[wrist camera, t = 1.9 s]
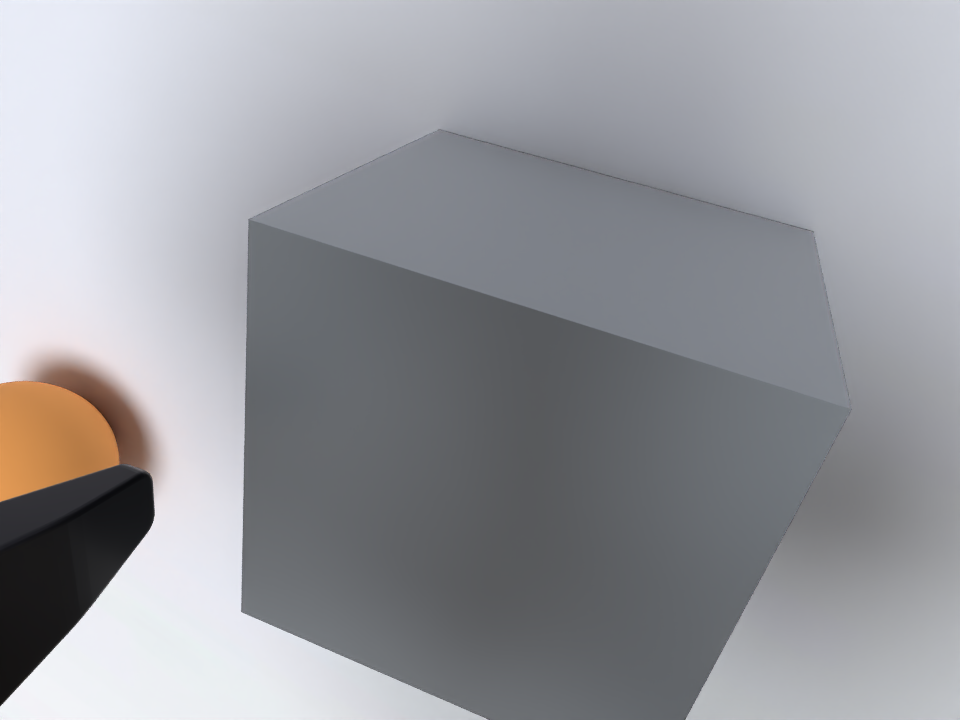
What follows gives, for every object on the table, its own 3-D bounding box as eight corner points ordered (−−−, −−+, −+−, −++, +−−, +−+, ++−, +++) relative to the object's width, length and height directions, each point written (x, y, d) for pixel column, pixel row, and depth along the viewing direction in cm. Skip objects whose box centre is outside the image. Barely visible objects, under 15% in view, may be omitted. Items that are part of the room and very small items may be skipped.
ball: (159, 509, 24) (32, 621, 20) (35, 458, 25) (-111, 554, 21) (151, 383, 22) (4, 481, 17) (14, 331, 23) (-157, 412, 18)
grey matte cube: (683, 528, 18) (647, 788, 12) (395, 423, 19) (241, 611, 14) (813, 231, 14) (851, 409, 8) (438, 129, 15) (248, 218, 10)
